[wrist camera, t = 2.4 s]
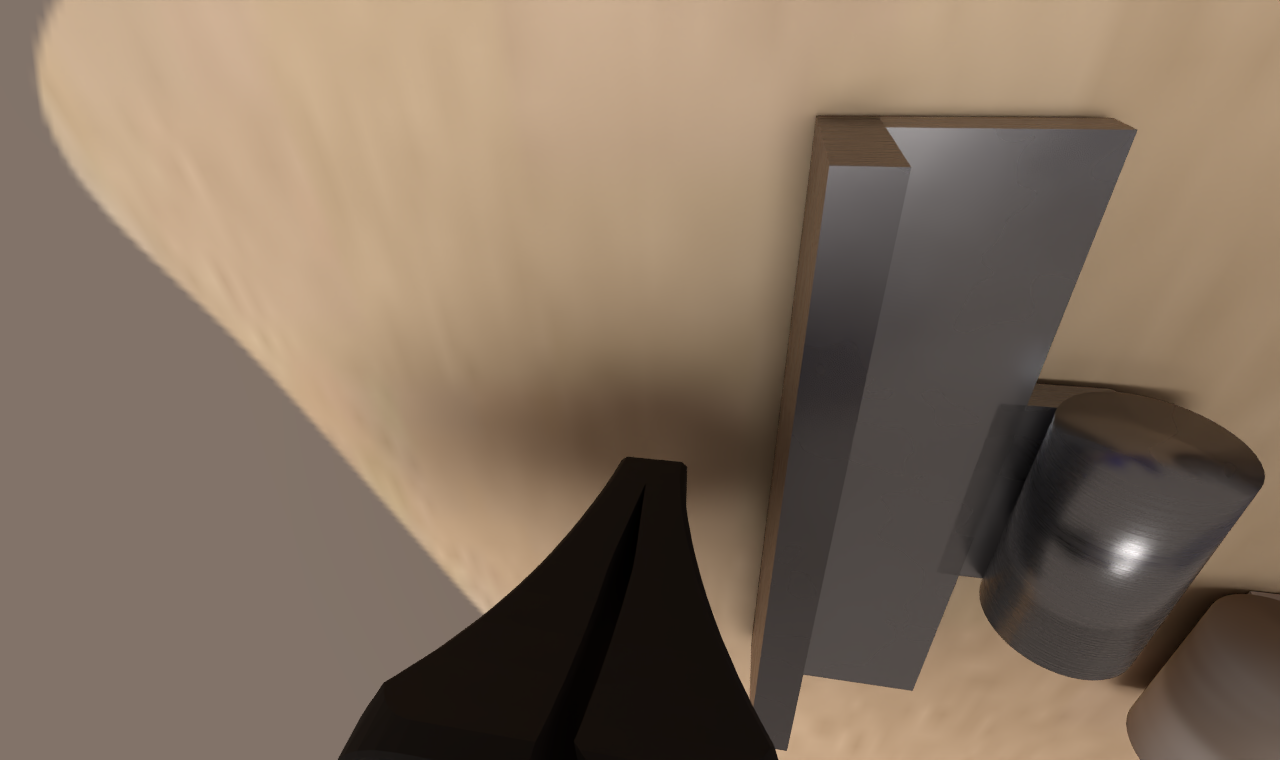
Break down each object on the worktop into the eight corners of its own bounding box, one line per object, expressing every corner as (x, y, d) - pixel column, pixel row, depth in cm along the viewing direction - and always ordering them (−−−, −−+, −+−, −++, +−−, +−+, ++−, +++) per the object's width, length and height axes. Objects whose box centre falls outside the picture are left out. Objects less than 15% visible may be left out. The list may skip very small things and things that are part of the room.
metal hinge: (1359, 120, 9) (1580, 183, 7) (1030, 681, 18) (1072, 803, 15) (816, 116, 10) (830, 167, 8) (751, 642, 19) (747, 748, 16)
